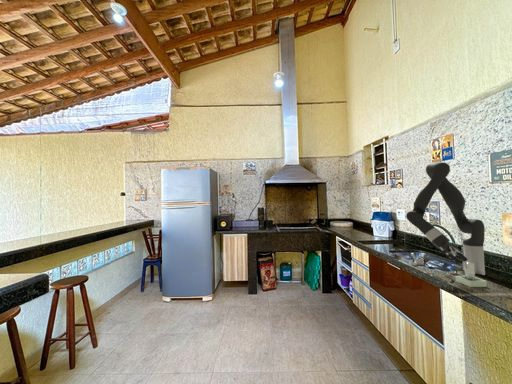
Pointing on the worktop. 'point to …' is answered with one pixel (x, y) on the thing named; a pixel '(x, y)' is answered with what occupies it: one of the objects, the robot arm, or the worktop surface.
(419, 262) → the lighter
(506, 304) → the worktop surface
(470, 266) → the shiny silver cylinder
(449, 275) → the socket block
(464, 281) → the bin
